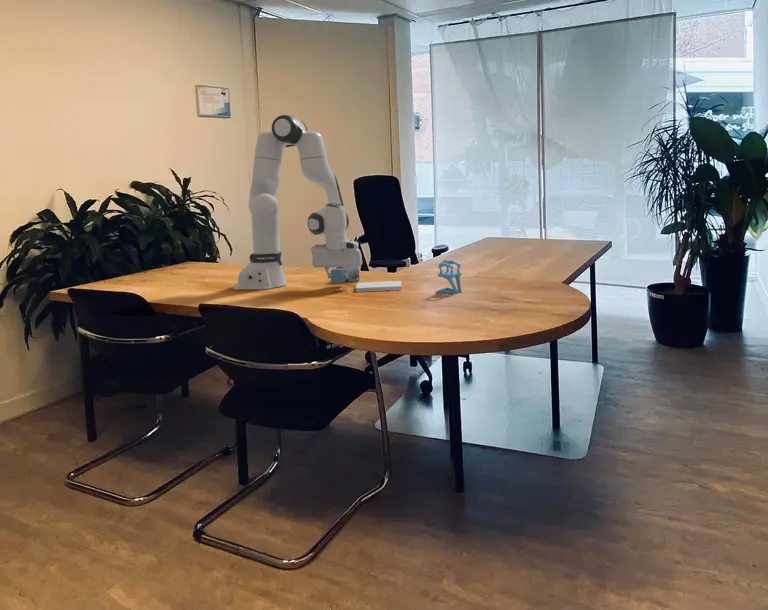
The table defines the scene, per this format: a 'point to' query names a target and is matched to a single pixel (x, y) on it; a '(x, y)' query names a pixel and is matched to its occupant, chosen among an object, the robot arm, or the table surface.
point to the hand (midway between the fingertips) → (337, 277)
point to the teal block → (337, 276)
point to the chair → (450, 277)
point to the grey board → (379, 286)
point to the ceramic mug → (351, 273)
